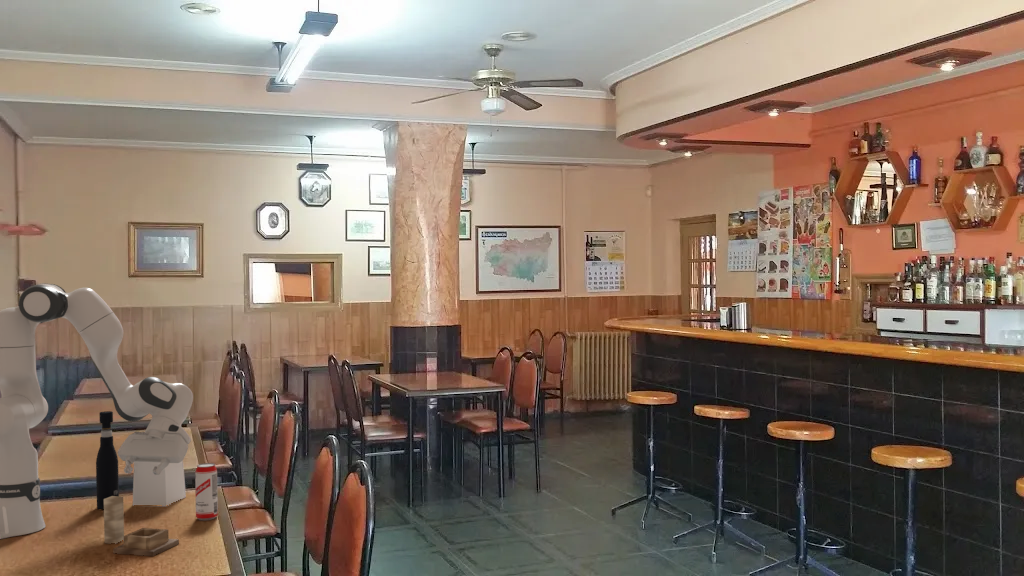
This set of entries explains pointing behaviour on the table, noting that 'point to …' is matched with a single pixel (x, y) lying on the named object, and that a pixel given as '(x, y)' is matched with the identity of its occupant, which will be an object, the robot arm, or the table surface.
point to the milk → (158, 484)
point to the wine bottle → (106, 462)
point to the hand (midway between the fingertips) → (141, 472)
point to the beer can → (206, 491)
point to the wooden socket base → (146, 542)
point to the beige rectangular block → (113, 519)
